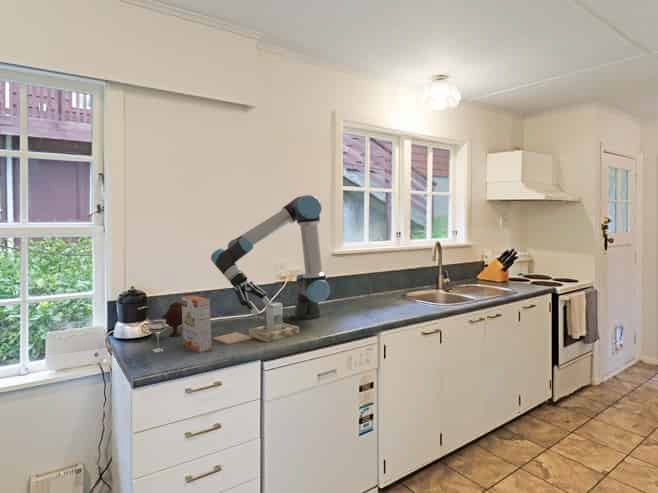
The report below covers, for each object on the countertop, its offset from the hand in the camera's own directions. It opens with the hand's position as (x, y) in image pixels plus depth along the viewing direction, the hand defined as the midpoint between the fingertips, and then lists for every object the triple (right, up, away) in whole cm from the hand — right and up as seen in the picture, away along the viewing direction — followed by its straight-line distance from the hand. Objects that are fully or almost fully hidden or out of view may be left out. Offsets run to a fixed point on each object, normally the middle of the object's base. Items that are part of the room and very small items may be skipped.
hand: (265, 311), depth 189 cm
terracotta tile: (-13, -11, -7) cm, 19 cm away
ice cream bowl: (-41, -11, 0) cm, 43 cm away
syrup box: (+4, -11, 0) cm, 12 cm away
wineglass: (-40, -13, -21) cm, 47 cm away
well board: (+4, -11, 0) cm, 12 cm away
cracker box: (-25, -12, -19) cm, 34 cm away
